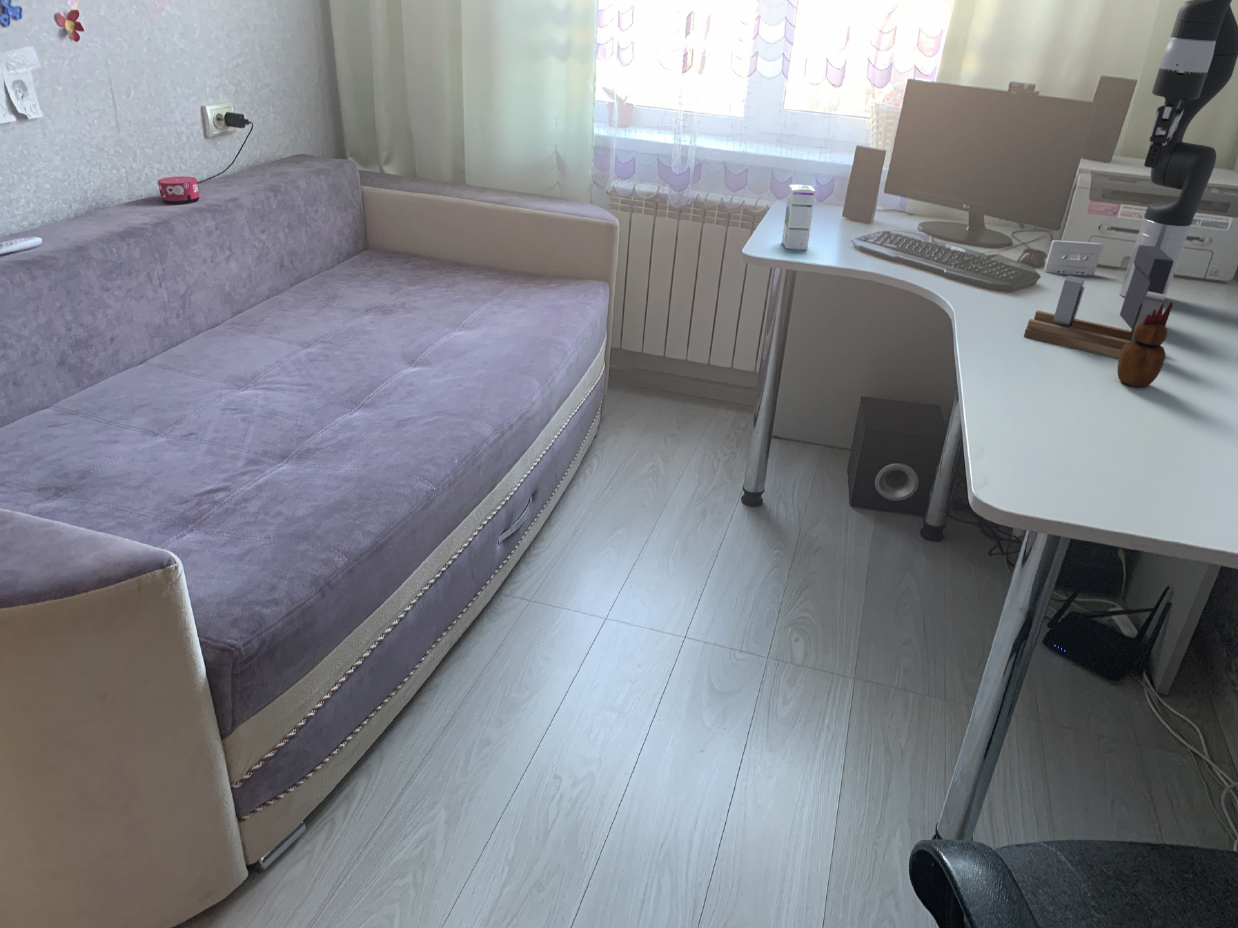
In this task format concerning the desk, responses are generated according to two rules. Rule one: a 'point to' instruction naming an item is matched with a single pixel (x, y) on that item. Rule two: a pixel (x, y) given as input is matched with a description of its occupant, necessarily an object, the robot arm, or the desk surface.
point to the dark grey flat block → (1146, 279)
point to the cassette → (1073, 266)
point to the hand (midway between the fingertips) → (1153, 164)
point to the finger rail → (1090, 330)
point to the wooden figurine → (1144, 350)
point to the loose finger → (1069, 301)
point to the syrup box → (798, 217)
